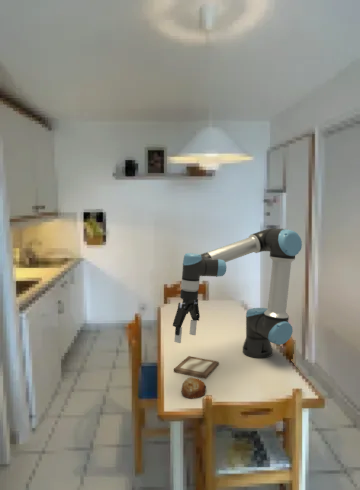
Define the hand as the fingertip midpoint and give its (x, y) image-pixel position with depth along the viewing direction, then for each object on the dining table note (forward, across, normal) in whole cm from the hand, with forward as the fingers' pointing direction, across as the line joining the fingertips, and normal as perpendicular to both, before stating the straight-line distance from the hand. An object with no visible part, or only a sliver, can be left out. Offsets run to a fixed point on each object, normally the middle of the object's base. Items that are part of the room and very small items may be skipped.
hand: (185, 338), depth 161 cm
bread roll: (+20, +4, +8) cm, 22 cm away
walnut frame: (+19, -16, -1) cm, 25 cm away
